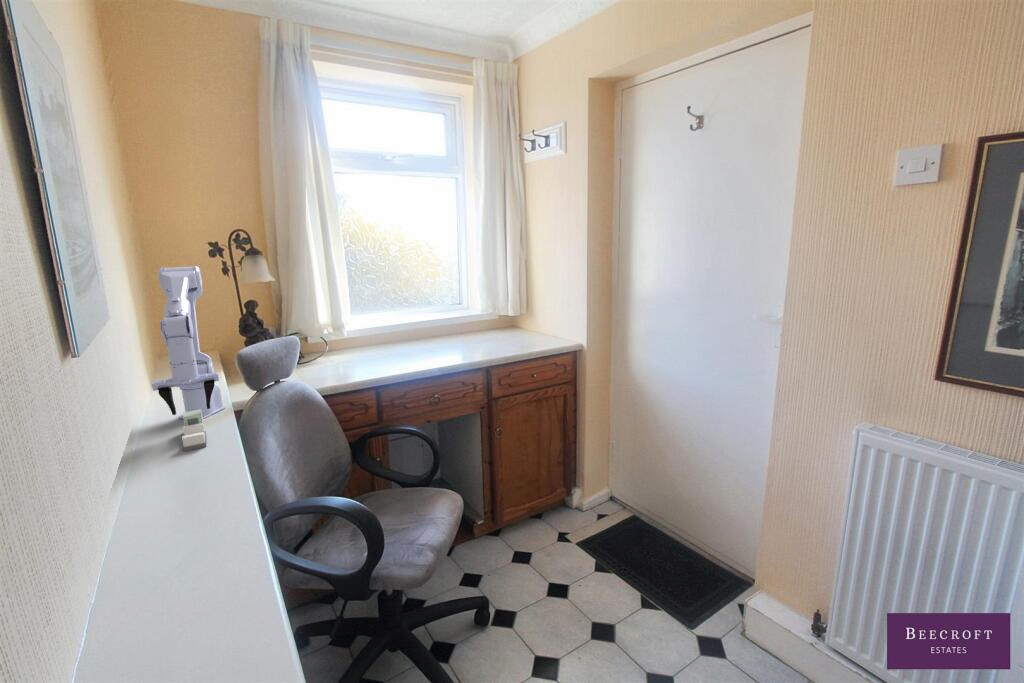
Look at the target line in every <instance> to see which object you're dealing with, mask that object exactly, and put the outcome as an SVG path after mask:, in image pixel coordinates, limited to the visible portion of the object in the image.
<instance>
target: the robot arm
mask: <svg viewBox="0 0 1024 683" xmlns="http://www.w3.org/2000/svg"><path fill="white" fill-rule="evenodd" d="M157 272H158V279H159V280H158V281H159V284H160V287H161V289H162V291H163V294H164V296H165V297H166V299H167V300H165V302H164V313H163V319H160V320H159V329H160V333H161V336H162V338H163V343H164V345H165V346H164V347H166V350H167V356H168V361H169V366H170V372H171V378H166V379H162V380H156V381H155V380H154V381H152V382H151V387H152V391H154V392H155V391H158V395H159V396H160V397H161V399H163V401H164V402H165V403H166V404H167V406H168V408H169V410H170V411H171V413H172V416H176V415H177V410H176V408H177V407H176V406H175V401H174V397H173V390H172V388H175V387H176V388H179V391H181V396H182V400H183V406H184V407H183V408H184V412H188V411H194V410H200V409H201V411H202V417H203V420H204V419H206V418H208V417H210V416H212V415H214V414H217V413H219V412H220V411H222V410H225V409H226V406H224V405H223V400H222V393H221V389H220V385H218V383H217V382H220V378H219V373H218V372H215V368H214V364H213V360H212V358H211V356H209V354H208V355H207V354H206V353H203V352H201V350H200V339H199V330H198V321H197V313H196V303H197V300H198V299H199V298H200V297H202V296H203V292H204V291H203V280H202V272H201V269H200V267H198V266H197V265H194V266H181V267H180V266H178V267H176V266H175V267H163V266H162V267H160V268H159V269H158V271H157ZM178 419H183V414H182V415H179V416H178ZM183 420H184V419H183Z"/></svg>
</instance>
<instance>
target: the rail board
mask: <svg viewBox="0 0 1024 683" xmlns="http://www.w3.org/2000/svg"><path fill="white" fill-rule="evenodd" d="M203 423H204V422H203ZM203 423H199V424H194V425H188V426H185V425H183V427H182V430H183V435H182V436H181V440H182V451H183V452H189V451H193V450H198V449H202V448H206V447H207V430H205V424H204V425H203Z"/></svg>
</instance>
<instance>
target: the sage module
mask: <svg viewBox="0 0 1024 683" xmlns="http://www.w3.org/2000/svg"><path fill="white" fill-rule="evenodd" d="M182 415H183V426H188V425H194V424H199V423H203V425H204V426H205V424H204V419H203V417H202V411H201V409H200V410H194V411H188V412H185V411H184V412H183V414H182Z"/></svg>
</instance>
